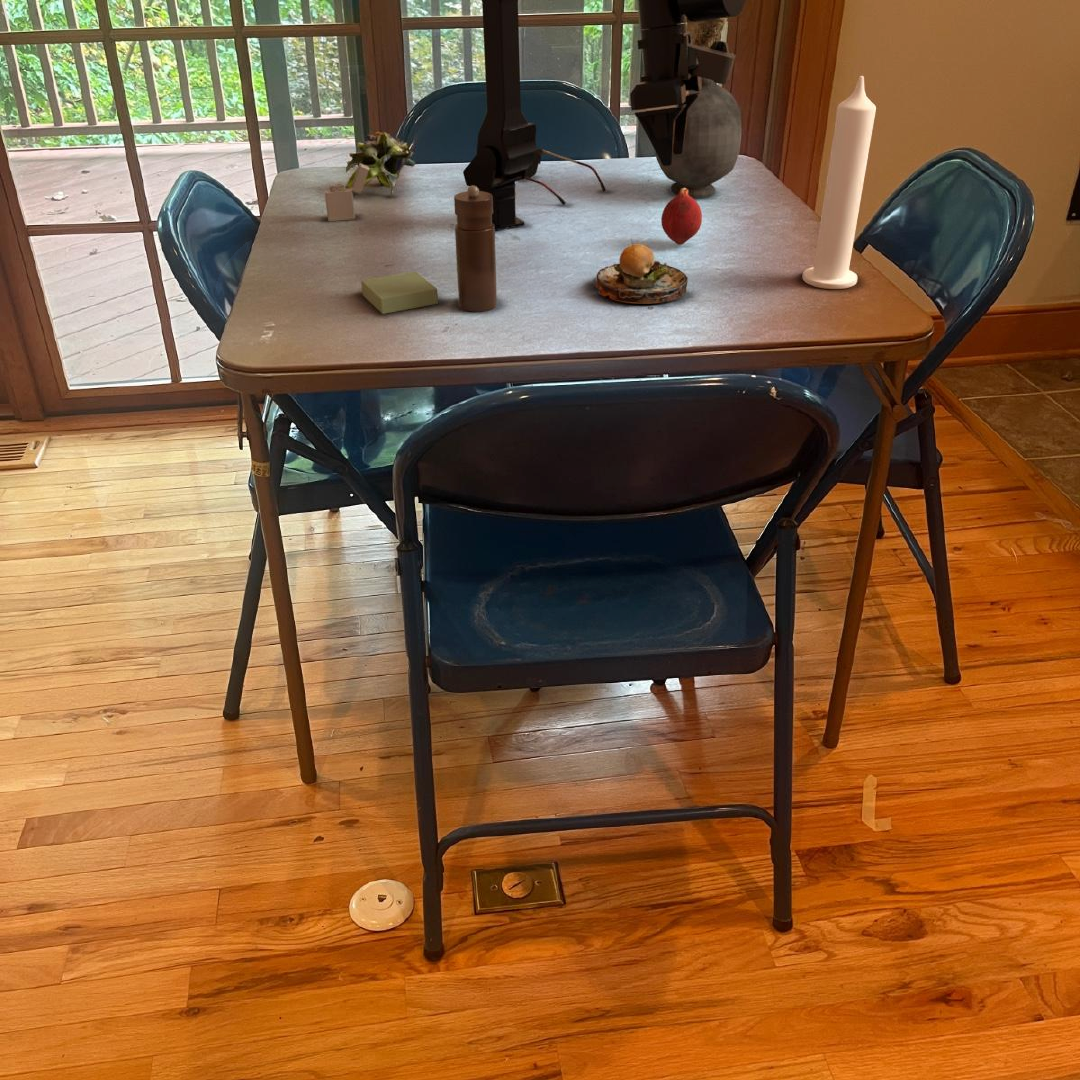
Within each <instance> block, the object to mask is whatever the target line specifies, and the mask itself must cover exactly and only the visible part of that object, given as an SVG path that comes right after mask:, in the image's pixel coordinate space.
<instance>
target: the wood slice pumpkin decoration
mask: <svg viewBox="0 0 1080 1080" xmlns="http://www.w3.org/2000/svg"><path fill="white" fill-rule="evenodd" d="M630 241H631V244H630V245H628V246H626V247H625V248H624V249H622V252H621V254H620V256H619V263H613V264H612V265H610V266H605V267H603V268H600V269H599V271H598V272H597V273H596V277H595V278H596V281H595V284H594V287H595V288H596V289H598V294H599V295H601V296H602V297H607V296H608V297H609V299H610V300H612V301H615V302H619V303H620V302H621V303H627V304H642V305H645V304H648V305H649V304H651V305H652V304H661V303H662V304H663V303H667V302H671V301H675V300H678V299H680V298H681V297H683V295H686V294H687V288H688V281H689V279H688V276H687V274H686V273H684V272H683V271H682V270H681V269H679V268H677V267H673V266H670V265H668V264H667V263H666V262H664V263H661V262H660V261H658V260H655V254H654V252H653V250H652V249H651V248H649V246H646V245H644V244H641V243H633V239H632V238H630Z"/></svg>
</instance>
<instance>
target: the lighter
mask: <svg viewBox="0 0 1080 1080" xmlns="http://www.w3.org/2000/svg"><path fill="white" fill-rule="evenodd" d="M356 170H357V172H356V175H355V178H354V181H353V184H352V186H351V189H346V188H345V184H344V182H342V183H341V182H339V183H332V184H330V185H329V187H328V189H325V190H324V200H325V208H326V215H327V220H328V222H337V221H338V222H339V221H348V220H349V221H350V220H355V219H356V214H355V213H356V212H355V206H354V205H355V203H354V195H353V192H354V193H356V194H357V195H358V194H359V195H361V193H362V190H363V188H364V186H363V185H364V182H365V180H366V177H367V174H368V171H369V167H368V166H366V165H363V164H361V163H360V164H359V165H358V167H357V168H356Z"/></svg>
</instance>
